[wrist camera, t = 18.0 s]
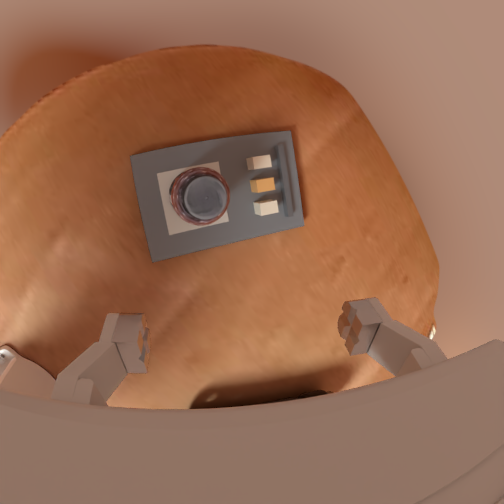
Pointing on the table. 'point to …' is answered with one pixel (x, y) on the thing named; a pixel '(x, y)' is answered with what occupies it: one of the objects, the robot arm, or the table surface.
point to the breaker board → (240, 185)
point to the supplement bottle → (199, 196)
